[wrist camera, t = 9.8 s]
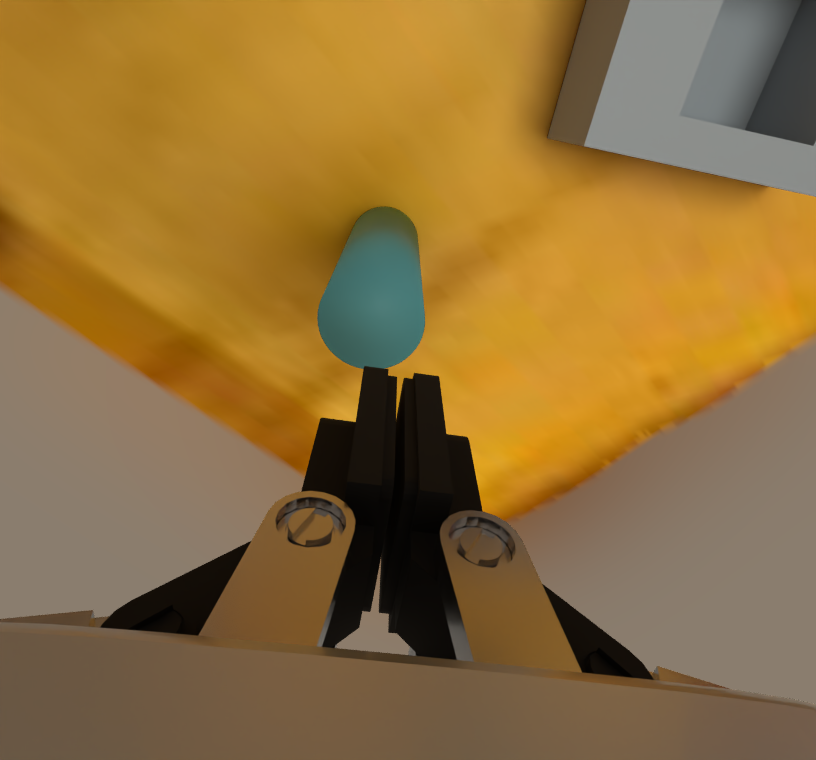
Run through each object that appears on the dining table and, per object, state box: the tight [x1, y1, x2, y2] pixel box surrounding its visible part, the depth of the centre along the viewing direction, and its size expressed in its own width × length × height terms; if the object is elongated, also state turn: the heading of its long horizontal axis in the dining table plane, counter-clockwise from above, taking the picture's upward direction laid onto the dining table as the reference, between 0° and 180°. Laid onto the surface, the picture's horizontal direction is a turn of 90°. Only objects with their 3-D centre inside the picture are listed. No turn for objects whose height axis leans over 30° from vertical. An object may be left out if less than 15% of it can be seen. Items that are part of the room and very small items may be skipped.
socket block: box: [547, 0, 816, 197], centre depth 22 cm, size 12×9×6 cm
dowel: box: [318, 207, 425, 369], centre depth 23 cm, size 4×4×12 cm
